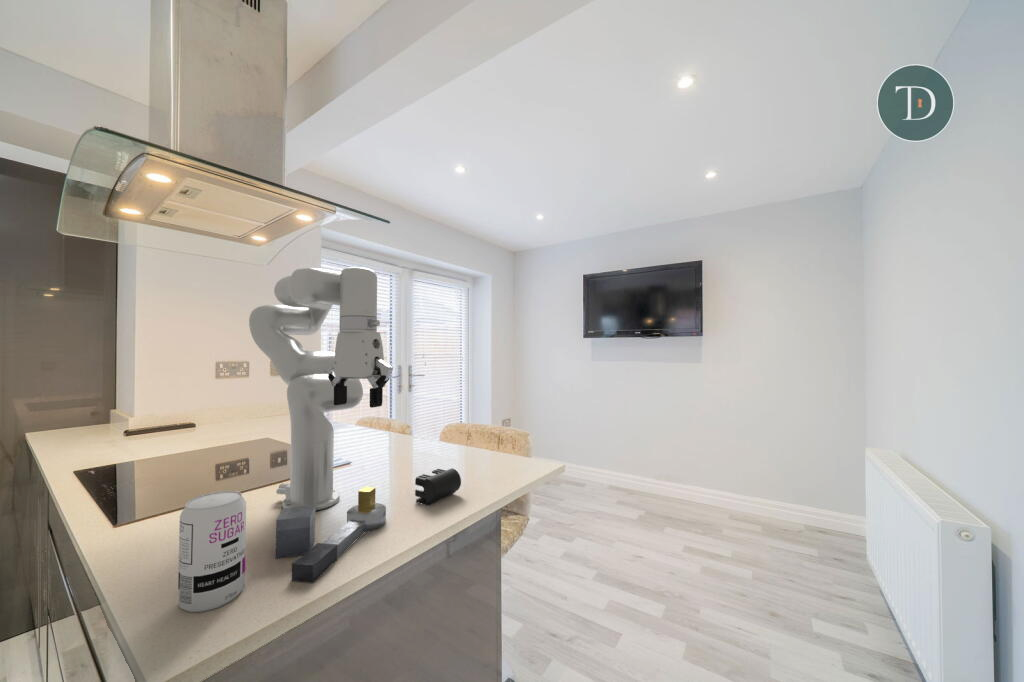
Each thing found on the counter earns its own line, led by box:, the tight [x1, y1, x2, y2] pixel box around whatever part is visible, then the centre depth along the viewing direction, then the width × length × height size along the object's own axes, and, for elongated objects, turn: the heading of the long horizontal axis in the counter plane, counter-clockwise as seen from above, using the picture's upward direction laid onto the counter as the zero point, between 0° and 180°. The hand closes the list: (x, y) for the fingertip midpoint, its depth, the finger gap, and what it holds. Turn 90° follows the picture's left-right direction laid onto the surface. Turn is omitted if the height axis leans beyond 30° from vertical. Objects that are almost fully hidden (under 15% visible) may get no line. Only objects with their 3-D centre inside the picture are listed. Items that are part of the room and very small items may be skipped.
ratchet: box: [291, 486, 387, 584], centre depth 77 cm, size 8×26×8 cm, turn 173°
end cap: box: [414, 467, 462, 506], centre depth 101 cm, size 10×7×7 cm
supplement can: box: [177, 490, 247, 613], centre depth 61 cm, size 8×8×15 cm
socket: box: [274, 505, 316, 560], centre depth 75 cm, size 6×6×7 cm
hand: (357, 405), depth 85 cm, fingers open, 9 cm apart
